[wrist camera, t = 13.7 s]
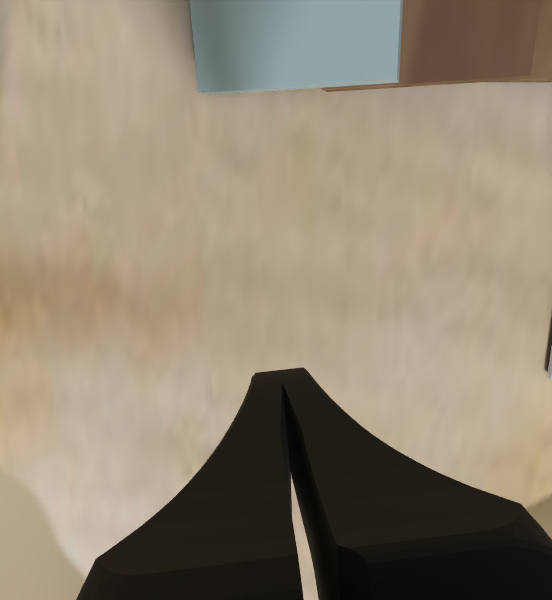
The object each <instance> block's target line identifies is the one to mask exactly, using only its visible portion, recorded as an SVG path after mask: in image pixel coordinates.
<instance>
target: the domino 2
mask: <svg viewBox="0 0 552 600" xmlns="http://www.w3.org/2000/svg"><path fill="white" fill-rule="evenodd" d="M491 82H552V0H541V3H540V10H539V17H538V25H537V32H536V39H535V46H534V54H533V61H532V68H531V75H530V76H528V77H525V78H522V79H519V80H507V81H491Z"/></svg>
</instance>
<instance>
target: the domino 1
mask: <svg viewBox="0 0 552 600" xmlns="http://www.w3.org/2000/svg"><path fill="white" fill-rule="evenodd" d="M540 3H541V0H403V13H402V33H401V53H400V73H399V83H384V84H369V85H354V86H339V87H324V88H322V90H325V91H327V92H331V91H347V90H363V89H379V88H395V87H411V86H427V85H443V84H459V83H475V82H491V81H507V80H519V79H522V78H525V77H528V76H530V75H531V68H532V61H533V54H534V46H535V39H536V32H537V25H538V17H539V10H540Z"/></svg>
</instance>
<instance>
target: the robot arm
mask: <svg viewBox="0 0 552 600" xmlns="http://www.w3.org/2000/svg"><path fill="white" fill-rule="evenodd" d="M548 378H549V379H550V380H551V381H552V347H551V354H550V361H549V368H548ZM291 475H292V480H293V484H294V488H295V492H296V496H297V500H298V504H299V508H300V512H301V516H302V520H303V524H304V528H305V532H306V536H307V540H308V544H309V548H310V552H311V557H312V562H313V567H314V572H315V578H316V585H317V591H318V598H319V600H552V539H551V538H550V537H549V536H548V535H547V533H546V532H545V531H544V529H543V528H542V527H541V526H540V525H539V524H538V523H537V522H536V520H534V518H533V517H532V516H531V515H530V514H529V513H528V512H527V510H526V509H525V508H524V507H523V506H522V505H521V504H520V503H517V502H514V501H511V500H508V499H505V498H502V497H499V496H496V495H494V494H491V493H488V492H485V491H482V490H479V489H476V488H473V487H471V486H468V485H466V484H463V483H461V482H459V481H456V480H454V479H452V478H449V477H447V476H445V475H443V474H440V473H438V472H436V471H434V470H432V469H430V468H428V467H426V466H424V465H422V464H420V463H418V462H416V461H414V460H413V459H411V458H409V457H407V456H405V455H404V454H402V453H400V452H398V451H397V450H395V449H393V448H392V447H390V446H389V445H387V444H386V443H384V442H383V441H381V440H380V439H378V438H377V437H375V436H374V435H372V434H371V433H370V432H368V431H367V430H366V429H364V428H363V427H362V426H361V425H360V424H358V423H357V422H356V421H355V420H354V419H352V418H351V417H350V416H349V415H348V414H347V413H346V412H345V411H344V410H342V409H341V408H340V407H339V406H338V405H337V404H336V403H335V402H334V401H333V400H332V399H331V398H330V397H329V396H328V395H327V394H326V392H325V391H324V390H323V389H322V388H321V387H320V386H319V385H318V383H317V382H316V381H315V380H314V379H313V377H312V376H311V375H310V374H309V372H308V371H307V370H306V369H305V368H295V369H286V370H277V371H268V372H259V373H255V374H254V375H253V377H252V379H251V383H250V386H249V389H248V392H247V394H246V396H245V399H244V401H243V403H242V405H241V407H240V409H239V411H238V413H237V415H236V417H235V419H234V421H233V422H232V424H231V426H230V427H229V429H228V431H227V432H226V434H225V436H224V437H223V439H222V440H221V442H220V443H219V445H218V446H217V448H216V449H215V451H214V452H213V453H212V455H211V456H210V457H209V459H208V460H207V461H206V463H205V464H204V465H203V466H202V468H201V469H200V470H199V471H198V472H197V473H196V475H195V476H194V477H193V478H192V479H191V480H190V481H189V483H188V484H187V485H186V486H185V487H184V488H183V489H182V490H181V491H180V492H179V493H178V494H177V495H176V496H175V497H174V498H173V499H172V500H171V501H170V502H169V503H168V504H167V505H165V506H164V507H163V508H162V509H161V510H160V511H159V512H158V513H156V514H155V515H154V516H153V517H152V518H150V519H149V520H148V521H147V522H146V523H144V524H143V525H142V526H141V527H139V528H138V529H137V530H135V531H134V532H133V533H131V534H130V535H129V536H127V537H126V538H124V539H123V540H122V541H120V542H119V543H118V544H116V545H115V546H113V547H112V548H111V549H109V550H108V551H107V552H105V553H104V554H102V555H101V556H99V557H98V558H97V559H96V560H95V562H94V564H93V566H92V568H91V570H90V572H89V574H88V576H87V579H86V581H85V583H84V584H83V586H82V589H81V591H80V593H79V595H78V597H77V600H303V591H302V583H301V576H300V568H299V561H298V553H297V547H296V541H295V535H294V528H293V522H292V500H291Z"/></svg>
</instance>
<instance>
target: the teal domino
mask: <svg viewBox="0 0 552 600" xmlns="http://www.w3.org/2000/svg"><path fill="white" fill-rule="evenodd" d="M190 11H191V22H192V33H193V43H194V54H195V65H196V76H197V87H198V93H206V94H214V95H220V94H235V93H250V92H265V91H280V90H295V89H309V88H324V87H339V86H354V85H369V84H384V83H399V73H400V53H401V33H402V13H403V0H190Z"/></svg>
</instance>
